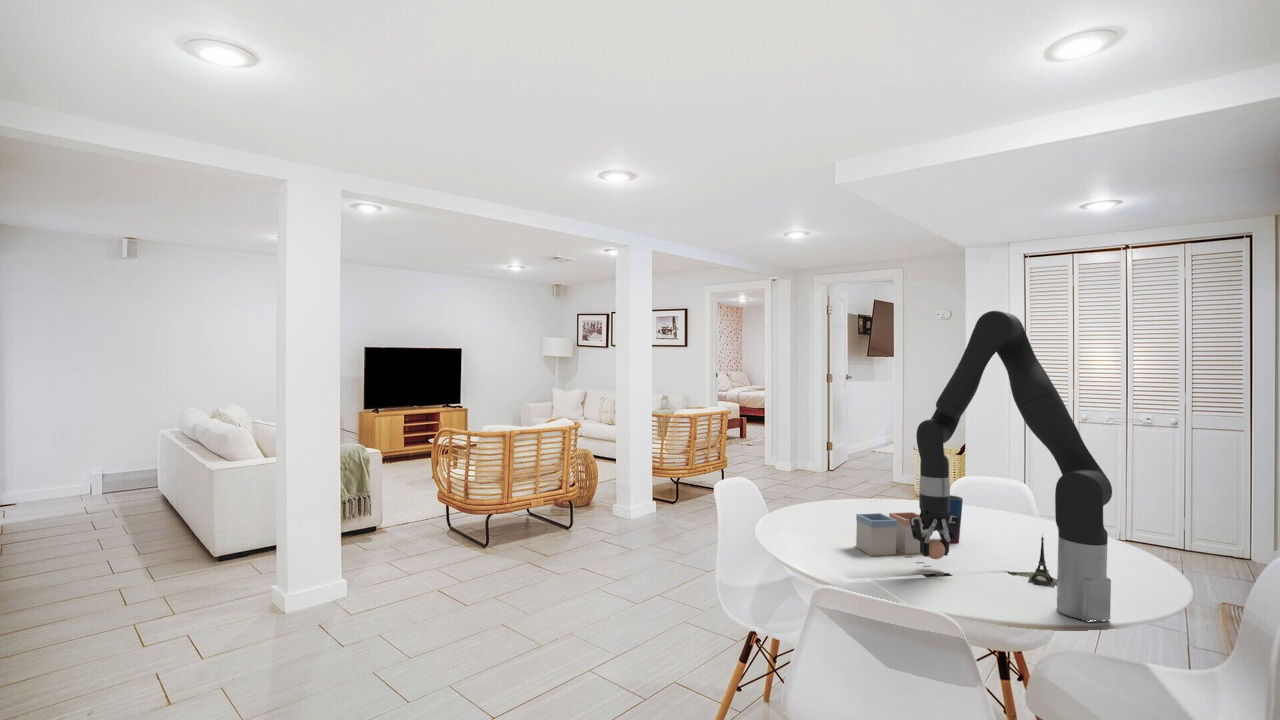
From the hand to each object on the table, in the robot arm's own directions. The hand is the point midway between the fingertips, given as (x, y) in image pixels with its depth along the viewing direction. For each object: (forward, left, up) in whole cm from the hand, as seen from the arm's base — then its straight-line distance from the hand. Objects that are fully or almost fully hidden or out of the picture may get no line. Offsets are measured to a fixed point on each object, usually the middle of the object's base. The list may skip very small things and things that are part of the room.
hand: (934, 555), depth 167 cm
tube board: (+17, +1, -5) cm, 18 cm away
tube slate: (+17, +7, -4) cm, 19 cm away
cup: (+23, -23, -5) cm, 33 cm away
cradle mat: (+4, 0, -5) cm, 7 cm away
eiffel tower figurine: (-9, -25, -6) cm, 28 cm away
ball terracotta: (0, 0, -1) cm, 1 cm away
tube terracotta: (+17, -4, -4) cm, 18 cm away
